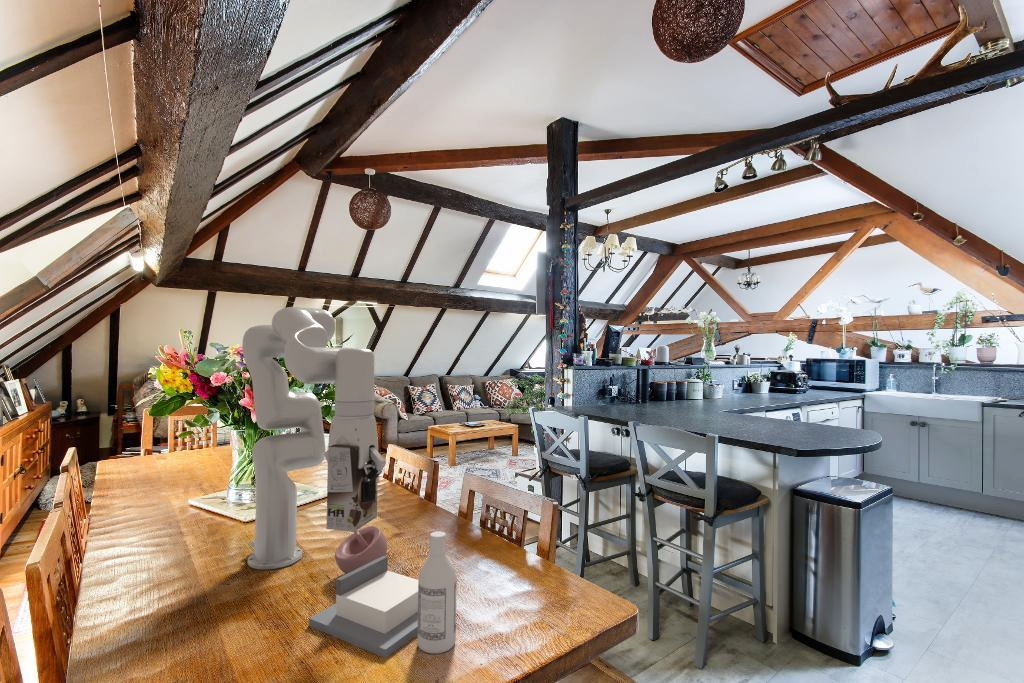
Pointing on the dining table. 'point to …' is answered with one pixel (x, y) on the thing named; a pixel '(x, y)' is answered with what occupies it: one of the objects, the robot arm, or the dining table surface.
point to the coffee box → (346, 491)
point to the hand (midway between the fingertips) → (353, 497)
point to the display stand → (372, 609)
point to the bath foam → (437, 599)
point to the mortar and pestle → (361, 549)
